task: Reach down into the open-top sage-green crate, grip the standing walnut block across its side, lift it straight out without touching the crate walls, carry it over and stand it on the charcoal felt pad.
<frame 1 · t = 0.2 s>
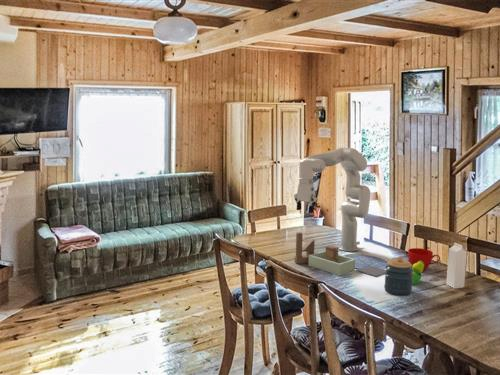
hand: (305, 211, 261), 31 cm above the table, tool pointing down, fingers open, 9 cm apart
crate: (331, 267, 259), on the table
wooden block: (304, 262, 267), on the table
ceramic cup: (422, 269, 258), on the table
canister: (397, 291, 224), on the table
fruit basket: (413, 281, 238), on the table
milk: (454, 286, 232), on the table
walnut block: (331, 257, 258), in the crate
felt pad: (372, 271, 253), on the table
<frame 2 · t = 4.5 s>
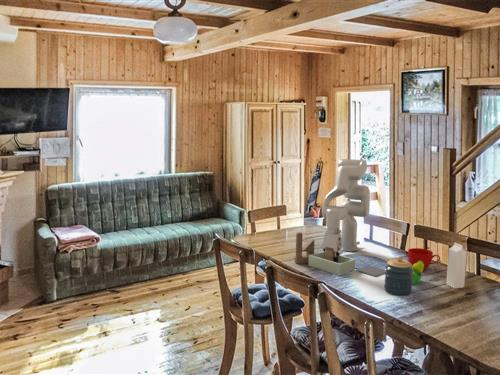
hand: (331, 261, 258), 3 cm above the table, tool pointing down, fingers closed on walnut block, 5 cm apart
walnut block: (331, 257, 258), in the crate, touching gripper
everything else where it was.
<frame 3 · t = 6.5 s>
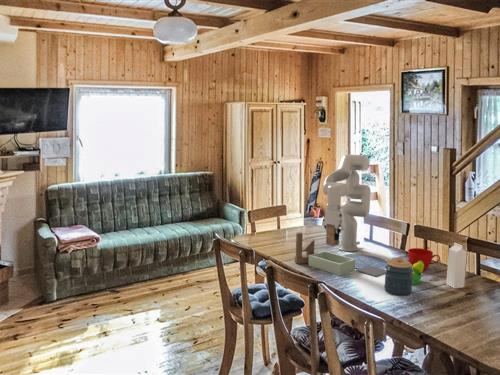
hand: (332, 238, 257), 17 cm above the table, tool pointing down, fingers closed on walnut block, 5 cm apart
walnut block: (332, 234, 256), point 19 cm above the table, touching gripper
everything else where it was.
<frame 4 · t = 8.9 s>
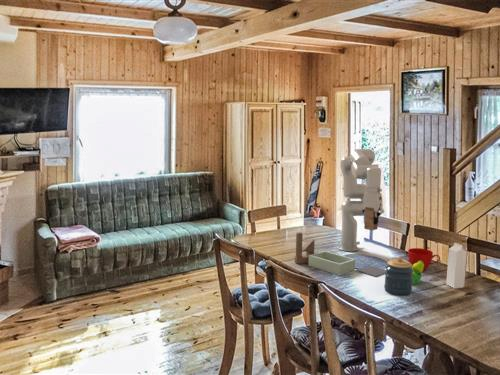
hand: (371, 222, 249), 27 cm above the table, tool pointing down, fingers closed on walnut block, 5 cm apart
walnut block: (371, 218, 249), point 30 cm above the table, touching gripper
everything else where it was.
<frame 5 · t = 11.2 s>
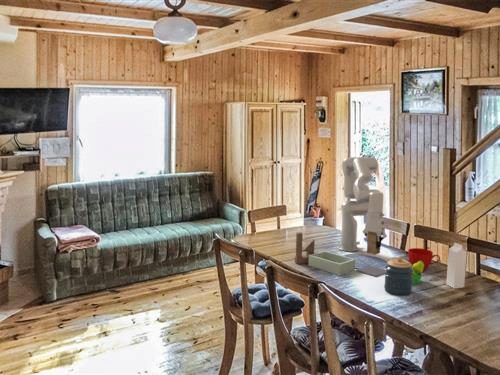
hand: (373, 246, 250), 14 cm above the table, tool pointing down, fingers closed on walnut block, 5 cm apart
walnut block: (373, 242, 250), point 17 cm above the table, touching gripper
everything else where it was.
when the fingers open (5 cm above the table, at t = 13.5 s): walnut block stays where it is, resting on felt pad.
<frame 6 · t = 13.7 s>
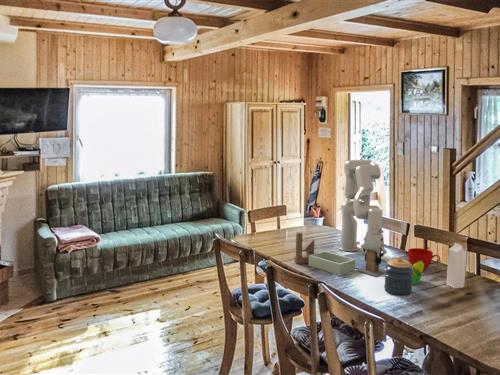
hand: (372, 262, 252), 5 cm above the table, tool pointing down, fingers open, 6 cm apart
walnut block: (372, 259, 252), on the felt pad, point 7 cm above the table
everything else where it was.
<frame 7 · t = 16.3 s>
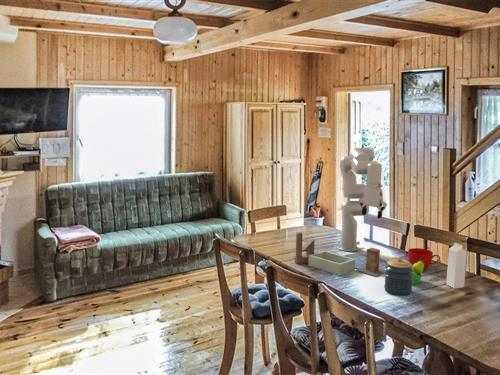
hand: (371, 216, 251), 31 cm above the table, tool pointing down, fingers open, 9 cm apart
nothing on the table moved.
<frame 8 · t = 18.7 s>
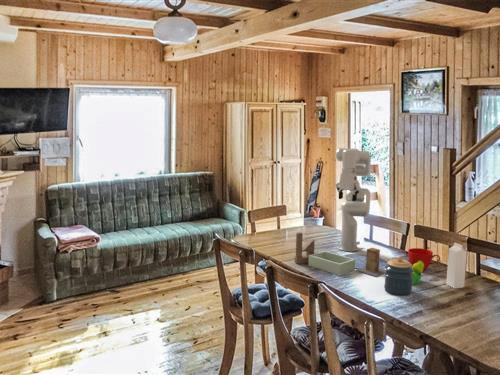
hand: (347, 199, 268), 36 cm above the table, tool pointing down, fingers open, 9 cm apart
nothing on the table moved.
at the end: walnut block inside the target area on the felt pad (0.1 cm from its centre), point 6.6 cm above the felt pad's base; walnut block tilted 0°; walnut block touching felt pad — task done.
